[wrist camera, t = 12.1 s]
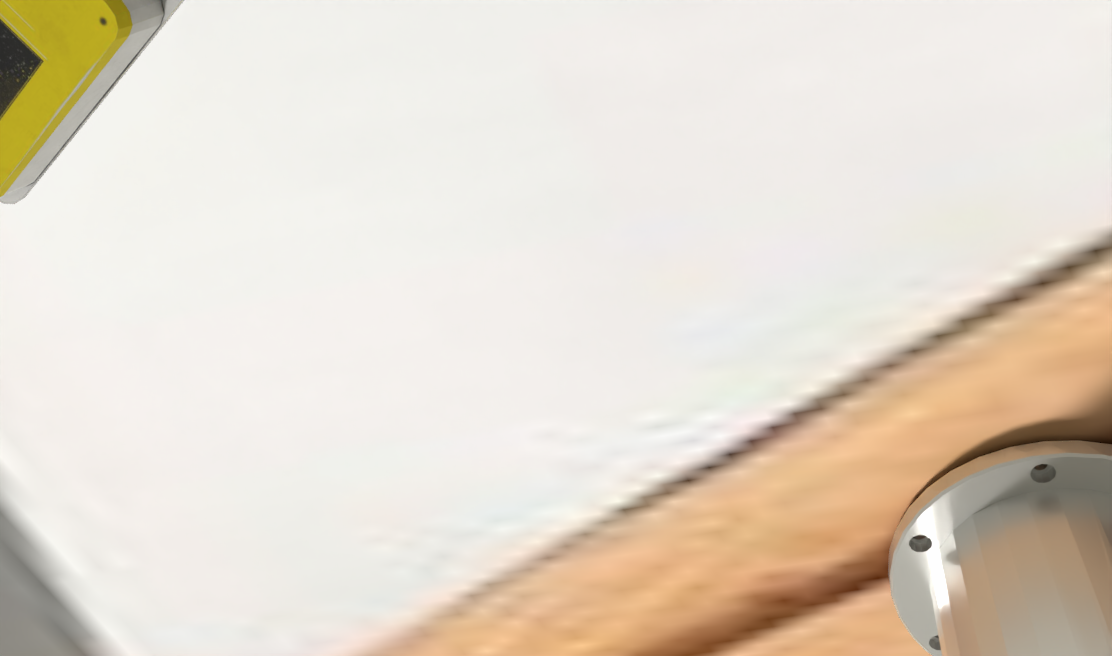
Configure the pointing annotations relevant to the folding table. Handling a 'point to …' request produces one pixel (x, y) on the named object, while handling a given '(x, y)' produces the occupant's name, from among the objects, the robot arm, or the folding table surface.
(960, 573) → the robot arm
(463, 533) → the folding table surface
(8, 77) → the emergency button
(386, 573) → the folding table surface
